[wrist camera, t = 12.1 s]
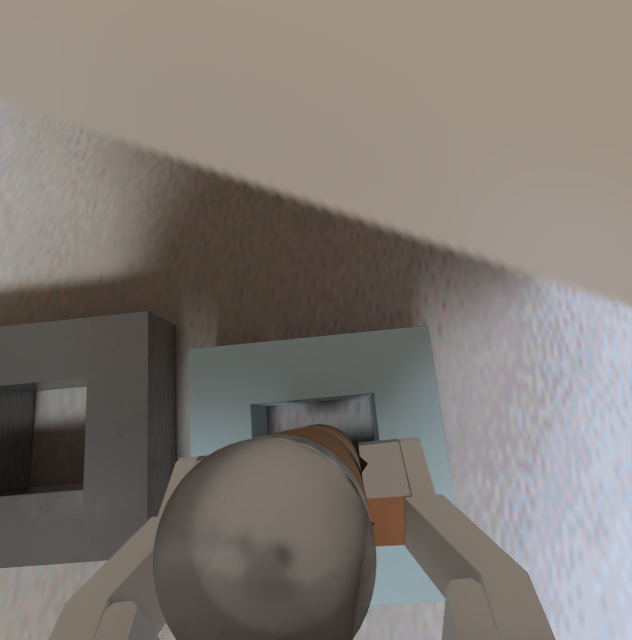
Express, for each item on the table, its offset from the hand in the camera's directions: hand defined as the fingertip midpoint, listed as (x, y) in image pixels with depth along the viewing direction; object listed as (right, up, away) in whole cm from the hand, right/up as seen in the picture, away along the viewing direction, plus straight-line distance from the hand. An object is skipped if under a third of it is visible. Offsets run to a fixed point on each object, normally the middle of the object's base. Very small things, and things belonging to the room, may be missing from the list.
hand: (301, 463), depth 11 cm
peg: (+1, -2, +6) cm, 6 cm away
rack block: (+1, -3, +9) cm, 9 cm away
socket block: (-11, -2, +10) cm, 15 cm away
